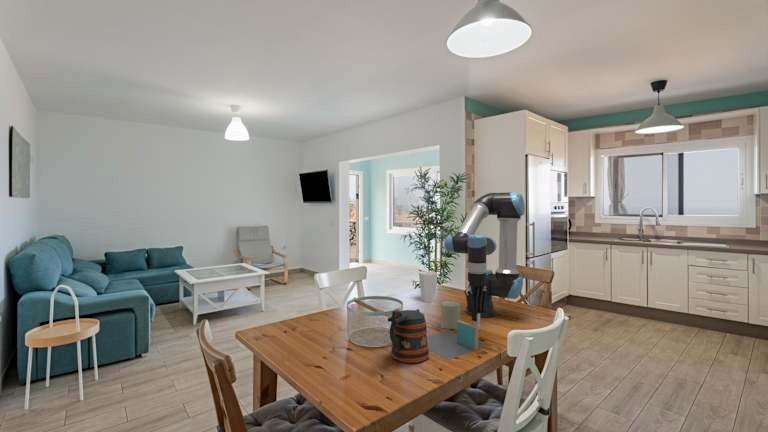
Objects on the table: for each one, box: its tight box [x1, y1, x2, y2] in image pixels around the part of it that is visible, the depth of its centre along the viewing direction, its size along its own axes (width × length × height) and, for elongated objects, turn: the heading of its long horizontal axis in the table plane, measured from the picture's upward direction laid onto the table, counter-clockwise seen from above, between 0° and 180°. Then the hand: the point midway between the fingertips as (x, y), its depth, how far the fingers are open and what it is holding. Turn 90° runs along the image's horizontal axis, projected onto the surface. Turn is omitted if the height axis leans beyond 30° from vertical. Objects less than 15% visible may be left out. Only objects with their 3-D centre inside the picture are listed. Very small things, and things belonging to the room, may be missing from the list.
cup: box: [418, 270, 438, 303], centre depth 218 cm, size 11×10×17 cm
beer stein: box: [387, 308, 430, 364], centre depth 138 cm, size 19×15×20 cm
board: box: [427, 329, 487, 361], centre depth 149 cm, size 22×22×1 cm
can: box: [440, 300, 461, 330], centre depth 171 cm, size 9×9×12 cm
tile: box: [456, 319, 479, 351], centre depth 147 cm, size 2×10×9 cm, turn 35°
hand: (476, 328), depth 150 cm, fingers closed
